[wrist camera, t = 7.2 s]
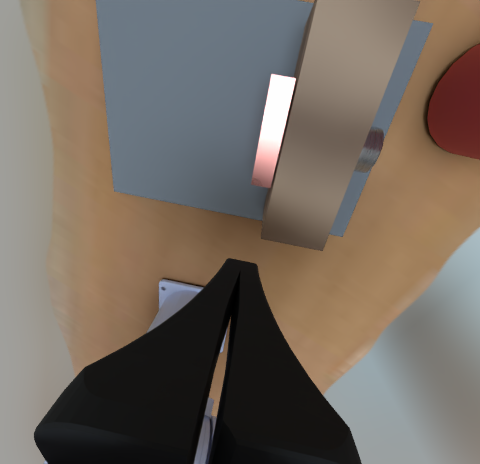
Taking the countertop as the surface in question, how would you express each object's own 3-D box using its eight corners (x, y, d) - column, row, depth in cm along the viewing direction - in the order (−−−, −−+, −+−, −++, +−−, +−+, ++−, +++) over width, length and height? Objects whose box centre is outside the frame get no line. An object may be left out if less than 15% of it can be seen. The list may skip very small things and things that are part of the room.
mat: (340, 233, 20) (342, 236, 20) (118, 189, 21) (113, 191, 20) (427, 26, 14) (433, 23, 13) (99, -29, 14) (92, -35, 14)
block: (310, 219, 19) (322, 251, 15) (263, 209, 20) (260, 238, 15) (372, 36, 14) (420, 1, 9) (305, 25, 14) (321, -16, 9)
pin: (255, 168, 18) (250, 184, 14) (271, 83, 15) (271, 74, 11) (348, 186, 18) (370, 207, 14) (380, 103, 15) (419, 100, 11)
